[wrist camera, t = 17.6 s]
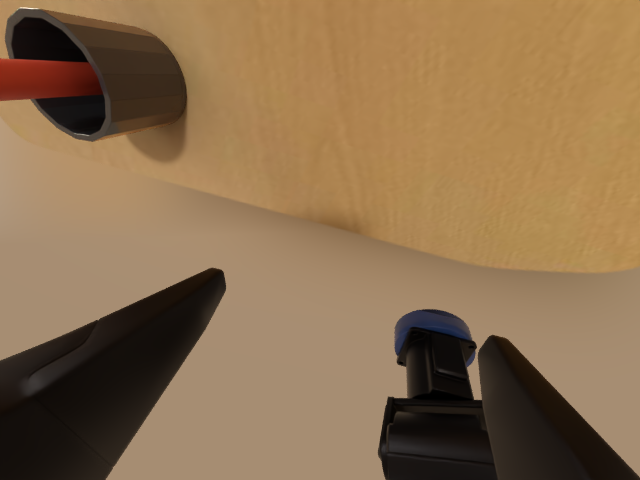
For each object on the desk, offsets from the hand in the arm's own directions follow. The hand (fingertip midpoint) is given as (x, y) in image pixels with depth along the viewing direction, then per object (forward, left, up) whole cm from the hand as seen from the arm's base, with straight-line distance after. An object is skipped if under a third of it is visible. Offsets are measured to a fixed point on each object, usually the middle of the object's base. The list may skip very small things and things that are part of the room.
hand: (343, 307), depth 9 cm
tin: (+5, +17, -12) cm, 21 cm away
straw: (+5, +17, -12) cm, 21 cm away
